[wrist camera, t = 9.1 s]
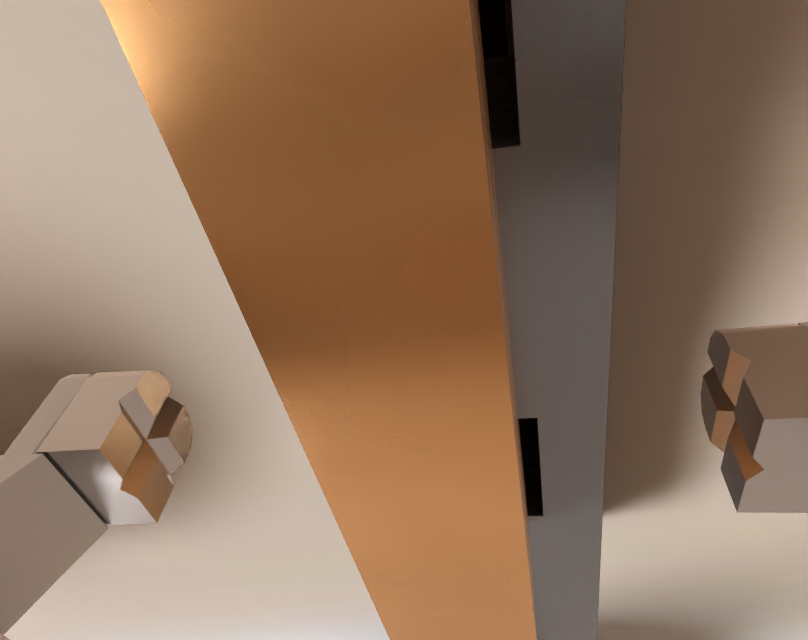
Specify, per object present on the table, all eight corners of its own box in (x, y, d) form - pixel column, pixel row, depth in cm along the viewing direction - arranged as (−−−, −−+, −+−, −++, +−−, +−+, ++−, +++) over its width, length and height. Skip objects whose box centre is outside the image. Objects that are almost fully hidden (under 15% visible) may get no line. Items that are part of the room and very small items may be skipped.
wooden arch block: (519, 396, 17) (538, 661, 12) (422, 401, 18) (398, 657, 12) (464, -199, 9) (446, -217, 4) (288, -157, 10) (48, -116, 4)
